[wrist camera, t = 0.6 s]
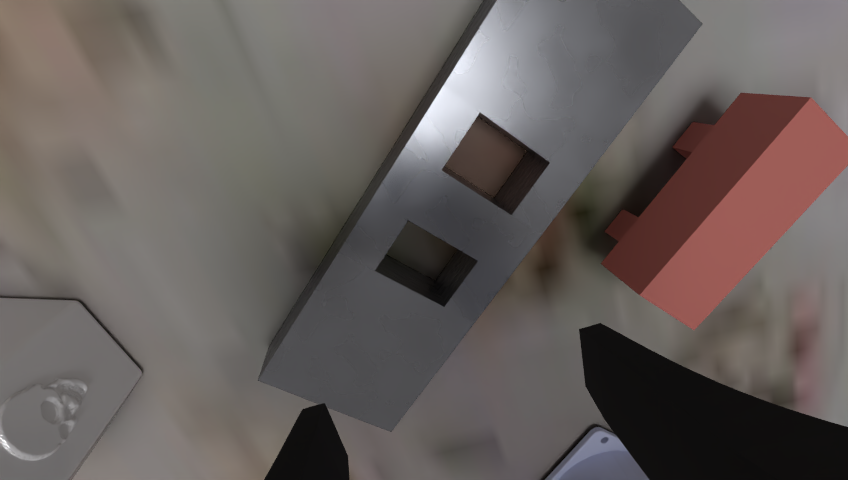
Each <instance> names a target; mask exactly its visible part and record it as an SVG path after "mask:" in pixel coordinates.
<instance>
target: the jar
mask: <svg viewBox="0 0 848 480" xmlns="http://www.w3.org/2000/svg"><path fill="white" fill-rule="evenodd" d="M141 376H142V371H141V369H140V368H139V367H138V366H137V365H136V364H135V363H134V362H133V361H132V359H131V358H130V357H129V356H128V355H127V354H126V353H125V352H124V351H123V349H122V348H121V347H120V346H119V345H118V344H117V343H116V342H115V341H114V339H113V338H112V337H111V336H110V335H109V334H108V333H107V332H106V331H105V329H104V328H103V327H102V326H101V325H100V324H99V323H98V322H97V321H96V319H95V318H94V317H93V316H92V315H91V314H90V313H89V312H88V311H87V309H86V308H85V307H84V306H83V305H82V304H81V303H80V302H79V301H76V300H50V299H22V298H0V480H72V479H73V478H74V476H75V475H76V473H77V472H78V471H79V469H80V468H81V466H82V465H83V463H84V462H85V460H86V459H87V458H88V456H89V455H90V453H91V452H92V450H93V449H94V448H95V446H96V445H97V443H98V442H99V440H100V439H101V437H102V436H103V435H104V433H105V432H106V430H107V428H108V427H109V425H110V424H111V422H112V421H113V419H114V418H115V416H116V415H117V413H118V412H119V410H120V408H121V407H122V405H123V404H124V402H125V401H126V399H127V398H128V396H129V395H130V393H131V392H132V390H133V388H134V387H135V385H136V384H137V382H138V381H139V379H140V378H141Z"/></svg>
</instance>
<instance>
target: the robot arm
mask: <svg viewBox="0 0 848 480" xmlns="http://www.w3.org/2000/svg"><path fill="white" fill-rule="evenodd" d="M579 331H580V340H581V349H582V358H583V367H584V376H585V385H586V388H587V389H588V391H589V393H590V395H591V397H592V398H593V400H594V402H595V404H596V405H597V407H598V409H599V411H600V412H601V414H602V416H603V417H604V419H605V420H606V422H607V423H608V425H609V426H610V427H611V429H612V430H613V431H614V433H615V434H613V433H611V432H609V431H607V430H605V429H603V428H601V427H595V428H593V429H591V430H590V431H589V432H588V434H587V435H586V436H585V437H584V438H583V439H582V440H581V441H580V442H579V443H578V444H577V445H576V447H575V448H574V449H573V450H572V451H571V452H570V453H569V454H568V455H567V456H566V457H565V458H564V460H563V461H562V462H561V463H560V464H559V465H558V466H557V467H556V468H555V469H554V470H553V471H552V473H551V474H550V475H549V476H548V477H547V478H546V479H545V480H848V427H846V426H842V425H838V424H835V423H831V422H828V421H825V420H821V419H818V418H815V417H812V416H809V415H806V414H802V413H799V412H796V411H793V410H790V409H787V408H784V407H781V406H778V405H775V404H772V403H769V402H767V401H764V400H761V399H759V398H756V397H754V396H751V395H748V394H746V393H743V392H740V391H738V390H735V389H733V388H730V387H728V386H725V385H723V384H721V383H718V382H716V381H714V380H712V379H709V378H707V377H705V376H703V375H700V374H698V373H696V372H694V371H692V370H689V369H687V368H685V367H683V366H681V365H679V364H677V363H675V362H673V361H671V360H669V359H667V358H665V357H663V356H661V355H659V354H657V353H655V352H653V351H651V350H649V349H647V348H646V347H644V346H642V345H640V344H638V343H636V342H634V341H633V340H631V339H629V338H627V337H625V336H623V335H622V334H620V333H618V332H616V331H614V330H612V329H611V328H609V327H607V326H605V325H603V324H601V323H599V324H596V325H592V326H589V327H585V328H582V329H579ZM264 480H349V467H348V455H347V453H346V451H345V448H344V446H343V444H342V441H341V439H340V437H339V435H338V432H337V430H336V428H335V425H334V423H333V421H332V418H331V416H330V414H329V412H328V409H327V407H326V405H325V403H323V404H319V405H316V406H312V407H309V408H305V409H303V410H302V411H301V413H300V415H299V417H298V418H297V420H296V422H295V424H294V426H293V428H292V430H291V432H290V434H289V435H288V437H287V439H286V441H285V443H284V445H283V447H282V449H281V450H280V452H279V454H278V456H277V458H276V460H275V461H274V463H273V465H272V467H271V469H270V470H269V472H268V474H267V476H266V477H265V479H264Z"/></svg>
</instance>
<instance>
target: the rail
mask: <svg viewBox="0 0 848 480" xmlns="http://www.w3.org/2000/svg"><path fill="white" fill-rule="evenodd" d="M701 25H702V23H701V22H700V21H699V20H698V19H697V18H696V17H695V16H694V15H693V14H692V13H691V12H690V11H689V10H688V9H687V8H686V7H685V6H684V5H683V4H682V3H681V1H680V0H484V1H483V3H482V4H481V6H480V7H479V9H478V11H477V12H476V14H475V16H474V17H473V19H472V20H471V22H470V24H469V25H468V27H467V28H466V30H465V32H464V33H463V35H462V36H461V38H460V40H459V41H458V43H457V45H456V46H455V48H454V49H453V51H452V53H451V54H450V56H449V57H448V59H447V61H446V62H445V64H444V65H443V67H442V69H441V70H440V72H439V73H438V75H437V77H436V78H435V80H434V82H433V83H432V85H431V86H430V88H429V90H428V91H427V93H426V94H425V96H424V98H423V99H422V101H421V102H420V104H419V106H418V107H417V109H416V111H415V112H414V114H413V115H412V117H411V119H410V120H409V122H408V123H407V125H406V127H405V128H404V130H403V131H402V133H401V135H400V136H399V138H398V140H397V141H396V143H395V144H394V146H393V148H392V149H391V151H390V152H389V154H388V156H387V157H386V159H385V160H384V162H383V164H382V165H381V167H380V168H379V170H378V172H377V173H376V175H375V177H374V178H373V180H372V181H371V183H370V185H369V186H368V188H367V189H366V191H365V193H364V194H363V196H362V197H361V199H360V201H359V202H358V204H357V206H356V207H355V209H354V210H353V212H352V214H351V215H350V217H349V218H348V220H347V222H346V223H345V225H344V226H343V228H342V230H341V231H340V233H339V235H338V236H337V238H336V239H335V241H334V243H333V244H332V246H331V247H330V249H329V251H328V252H327V254H326V255H325V257H324V259H323V260H322V262H321V263H320V265H319V267H318V268H317V270H316V272H315V273H314V275H313V276H312V278H311V280H310V281H309V283H308V284H307V286H306V288H305V289H304V291H303V292H302V294H301V296H300V297H299V299H298V301H297V302H296V304H295V305H294V307H293V309H292V310H291V312H290V313H289V315H288V317H287V318H286V320H285V321H284V323H283V325H282V326H281V328H280V330H279V331H278V333H277V334H276V336H275V338H274V339H273V341H272V342H271V344H270V346H269V348H268V351H267V354H266V357H265V360H264V363H263V366H262V369H261V372H260V375H259V379H258V381H260V382H263V383H266V384H268V385H271V386H273V387H276V388H279V389H281V390H284V391H286V392H289V393H292V394H294V395H297V396H299V397H302V398H304V399H307V400H310V401H312V402H315V403H317V404H323V403H325V405H326V407H328V408H330V409H333V410H336V411H338V412H341V413H343V414H346V415H348V416H351V417H354V418H356V419H359V420H361V421H364V422H367V423H369V424H372V425H374V426H377V427H380V428H382V429H385V430H387V431H390V432H392V430H393V429H394V428H395V426H396V425H397V424H398V422H399V421H400V420H401V418H402V417H403V416H404V415H405V413H406V412H407V411H408V409H409V408H410V407H411V405H412V404H413V403H414V401H415V400H416V399H417V397H418V396H419V395H420V394H421V392H422V391H423V390H424V388H425V387H426V386H427V384H428V383H429V382H430V380H431V379H432V378H433V377H434V375H435V374H436V373H437V371H438V370H439V369H440V367H441V366H442V365H443V363H444V362H445V361H446V359H447V358H448V357H449V356H450V354H451V353H452V352H453V350H454V349H455V348H456V346H457V345H458V344H459V342H460V341H461V340H462V338H463V337H464V336H465V335H466V333H467V332H468V331H469V329H470V328H471V327H472V325H473V324H474V323H475V321H476V320H477V319H478V318H479V316H480V315H481V314H482V312H483V311H484V310H485V308H486V307H487V306H488V304H489V303H490V302H491V300H492V299H493V298H494V297H495V295H496V294H497V293H498V291H499V290H500V289H501V287H502V286H503V285H504V283H505V282H506V281H507V280H508V278H509V277H510V276H511V274H512V273H513V272H514V270H515V269H516V268H517V266H518V265H519V264H520V262H521V261H522V260H523V259H524V257H525V256H526V255H527V253H528V252H529V251H530V249H531V248H532V247H533V245H534V244H535V243H536V241H537V240H538V239H539V238H540V236H541V235H542V234H543V232H544V231H545V230H546V228H547V227H548V226H549V224H550V223H551V222H552V221H553V219H554V218H555V217H556V215H557V214H558V213H559V211H560V210H561V209H562V207H563V206H564V205H565V203H566V202H567V201H568V200H569V198H570V197H571V196H572V194H573V193H574V192H575V190H576V189H577V188H578V186H579V185H580V184H581V183H582V181H583V180H584V179H585V177H586V176H587V175H588V173H589V172H590V171H591V169H592V168H593V167H594V165H595V164H596V163H597V162H598V160H599V159H600V158H601V156H602V155H603V154H604V152H605V151H606V150H607V148H608V147H609V146H610V144H611V143H612V142H613V141H614V139H615V138H616V137H617V135H618V134H619V133H620V131H621V130H622V129H623V127H624V126H625V125H626V124H627V122H628V121H629V120H630V118H631V117H632V116H633V114H634V113H635V112H636V110H637V109H638V108H639V106H640V105H641V104H642V103H643V101H644V100H645V99H646V97H647V96H648V95H649V93H650V92H651V91H652V89H653V88H654V87H655V85H656V84H657V83H658V82H659V80H660V79H661V78H662V76H663V75H664V74H665V72H666V71H667V70H668V68H669V67H670V66H671V65H672V63H673V62H674V61H675V59H676V58H677V57H678V55H679V54H680V53H681V51H682V50H683V49H684V47H685V46H686V45H687V44H688V42H689V41H690V40H691V38H692V37H693V36H694V34H695V33H696V32H697V30H698V29H699V28H700V27H701ZM477 116H479V117H480V118H482V119H483V120H484V121H486V122H487V123H489V124H490V125H491V126H493V127H494V128H496V129H497V130H498V131H500V132H501V133H503V134H504V135H505V136H507V137H508V138H510V139H511V140H512V141H514V142H515V143H517V144H518V145H519V146H521V147H522V148H524V149H525V150H526V151H528V152H527V153H526V154H525V156H524V157H523V159H522V160H521V161H520V163H519V164H518V166H517V167H516V168H515V170H514V171H513V173H512V174H511V175H510V177H509V178H508V180H507V181H506V183H505V184H504V185H503V187H502V188H501V190H500V191H499V192H498V194H497V195H496V197H495V198H493V197H491V196H490V195H488V194H486V193H485V192H483V191H482V190H480V189H479V188H477V187H476V186H474V185H473V184H471V183H469V182H468V181H466V180H465V179H463V178H462V177H460V176H459V175H457V174H456V173H454V172H452V171H451V170H449V169H448V168H446V167H445V164H446V163H447V161H448V160H449V158H450V157H451V155H452V154H453V152H454V150H455V149H456V147H457V146H458V144H459V143H460V141H461V140H462V138H463V137H464V135H465V134H466V132H467V131H468V129H469V128H470V126H471V125H472V123H473V122H474V120H475V119H476V117H477ZM407 221H410V222H412V223H414V224H415V225H417V226H419V227H421V228H422V229H424V230H426V231H427V232H429V233H431V234H433V235H434V236H436V237H438V238H440V239H441V240H443V241H445V242H446V243H448V244H450V245H452V246H453V247H455V248H457V249H458V250H457V251H456V253H455V254H454V256H453V257H452V258H451V260H450V261H449V263H448V264H447V265H446V267H445V268H444V270H443V271H442V272H441V274H440V275H439V277H438V278H437V279H436V281H434V280H432V279H430V278H428V277H426V276H425V275H423V274H421V273H419V272H417V271H415V270H413V269H411V268H410V267H408V266H406V265H404V264H402V263H400V262H398V261H397V260H395V259H393V258H391V257H389V256H387V255H386V253H387V252H388V250H389V249H390V247H391V246H392V244H393V242H394V241H395V239H396V238H397V236H398V235H399V233H400V232H401V230H402V229H403V227H404V226H405V224H406V223H407Z"/></svg>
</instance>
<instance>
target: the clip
mask: <svg viewBox="0 0 848 480" xmlns="http://www.w3.org/2000/svg"><path fill="white" fill-rule="evenodd" d="M673 148H674V149H675V150H676V151H677V152H679V153H680V154H681V155H682V156H683V157H685V158H686V160H685V162H684V163H683V164H682V165H681V166H680V168H679V169H678V170H677V171H676V173H675V174H674V175H673V176H672V177H671V179H670V180H669V181H668V182H667V184H666V185H665V186H664V187H663V188H662V190H661V191H660V192H659V193H658V194H657V196H656V197H655V198H654V199H653V201H652V202H651V203H650V204H649V205H648V207H647V208H646V209H645V210H644V212H643V213H642V214H641V215H640V216H639V217H637V216H635V215H633V214H631V213H629V212H627V211H626V210H624V209H622V210H621V212H620V213H619V214H618V215H617V217H616V218H615V219H614V220H613V222H612V223H611V224H610V225H609V226H608V228H607V229H606V230H605V231H604V232H606V233H607V234H609V235H610V236H612V237H613V238H614V239H616V240H617V241H619V242H618V243H617V244H616V246H615V247H614V248H613V249H612V251H611V252H610V253H609V254H608V255H607V257H606V258H605V259H604V260H603V262H602V263H601V264H602V265H603V266H604V267H606V268H607V269H608V270H609V271H610V272H612V273H613V274H614V275H615V276H617V277H618V278H619V279H620V280H622V281H623V282H624V283H625V284H626V285H628V286H629V287H630V288H631V289H633V290H634V291H635V292H636V293H638V294H639V295H640V296H642V297H643V298H645V299H646V300H648V301H649V302H651V303H653V304H654V305H656V306H657V307H659V308H660V309H662V310H663V311H665V312H667V313H668V314H670V315H671V316H673V317H674V318H676V319H677V320H679V321H681V322H682V323H684V324H685V325H687V326H688V327H690V328H691V329H693V330H695V329H696V328H697V327H698V326H699V324H700V323H701V322H702V321H703V320H704V319H705V318H706V317H707V316H708V315H709V314H710V313H711V312H712V310H713V309H714V308H715V307H716V306H717V305H718V304H719V303H720V302H721V301H722V300H723V299H724V298H725V297H726V295H727V294H728V293H729V292H730V291H731V290H732V289H733V288H734V287H735V286H736V285H737V284H738V283H739V281H740V280H741V279H742V278H743V277H744V276H745V275H746V274H747V273H748V272H749V271H750V270H751V269H752V268H753V266H754V265H755V264H756V263H757V262H758V261H759V260H760V259H761V258H762V257H763V256H764V255H765V254H766V252H767V251H768V250H769V249H770V248H771V247H772V246H773V245H774V244H775V243H776V242H777V241H778V240H779V239H780V237H781V236H782V235H783V234H784V233H785V232H786V231H787V230H788V229H789V228H790V227H791V226H792V225H793V223H794V222H795V221H796V220H797V219H798V218H799V217H800V216H801V215H802V214H803V213H804V212H805V211H806V210H807V208H808V207H809V206H810V205H811V204H812V203H813V202H814V201H815V200H816V199H817V198H818V197H819V196H820V194H821V193H822V192H823V191H824V190H825V189H826V188H827V187H828V186H829V185H830V184H831V183H832V182H833V181H834V179H835V178H836V177H837V176H838V175H839V174H840V173H841V172H842V171H843V170H844V169H845V168H846V167H847V165H848V136H847V135H846V134H845V133H844V132H843V131H842V130H841V129H840V128H839V127H838V126H837V125H836V124H835V123H834V122H833V120H832V119H831V118H830V117H829V116H828V115H827V114H826V113H825V112H824V111H823V110H822V109H821V108H820V107H819V106H818V104H817V103H816V102H815V101H814V100H813V99H812V98H810V97H795V96H780V95H765V94H750V93H740V95H739V96H738V97H737V98H736V99H735V101H734V102H733V103H732V104H731V106H730V107H729V108H728V109H727V110H726V112H725V113H724V114H723V115H722V116H721V118H720V119H719V120H718V121H717V123H716V124H715V125H710V124H703V123H697V122H692V123H691V125H690V126H689V127H688V128H687V130H686V131H685V132H684V133H683V135H682V136H681V137H680V138H679V140H678V141H677V142H676V143H675V144H674V146H673Z"/></svg>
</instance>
